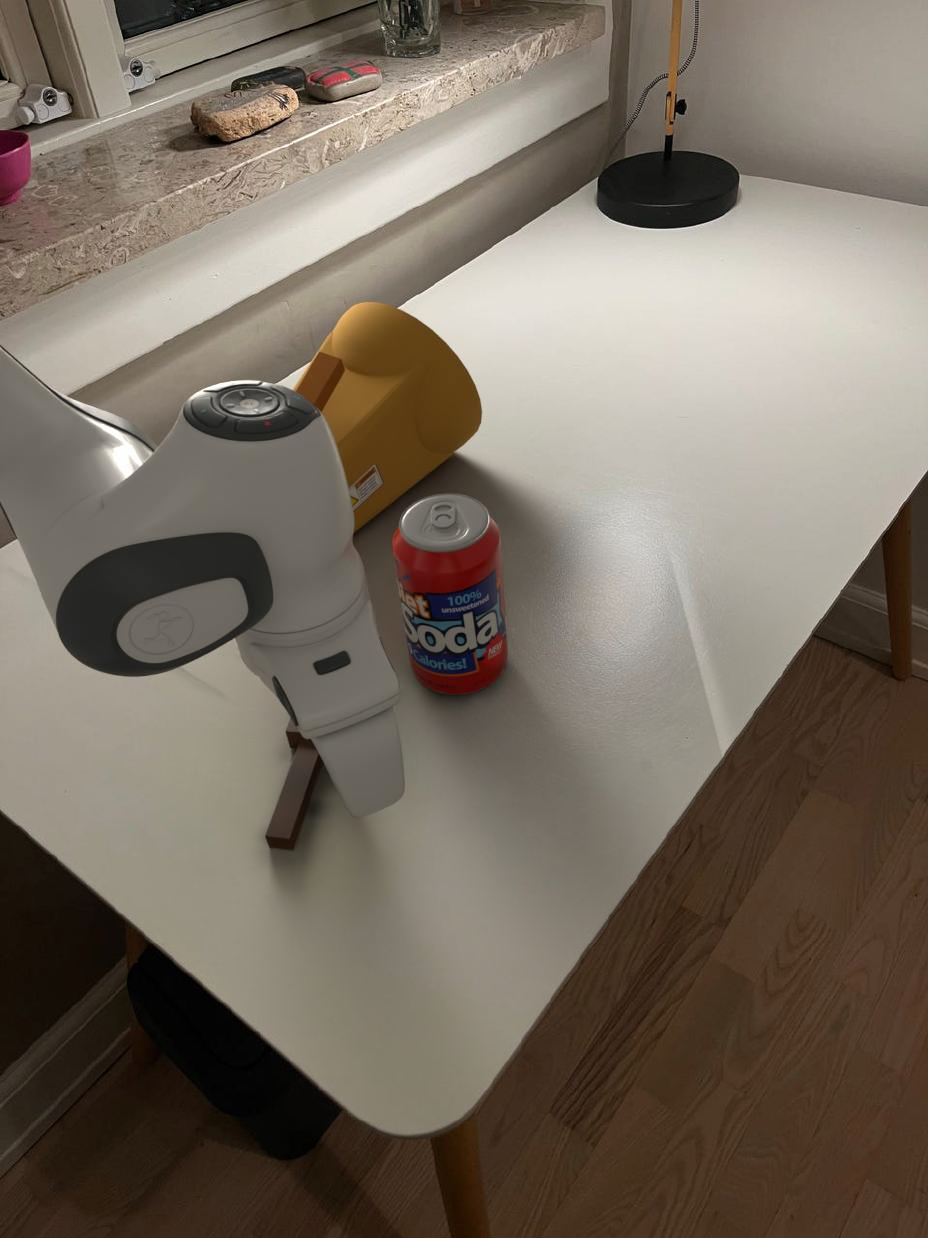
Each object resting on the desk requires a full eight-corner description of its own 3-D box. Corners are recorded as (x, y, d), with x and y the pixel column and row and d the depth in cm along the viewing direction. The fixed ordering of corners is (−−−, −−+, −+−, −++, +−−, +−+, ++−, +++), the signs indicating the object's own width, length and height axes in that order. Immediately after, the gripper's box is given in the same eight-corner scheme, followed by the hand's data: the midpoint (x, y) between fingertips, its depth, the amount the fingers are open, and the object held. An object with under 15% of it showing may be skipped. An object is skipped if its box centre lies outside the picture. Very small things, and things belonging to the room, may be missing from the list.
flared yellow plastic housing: (369, 413, 111) (317, 278, 97) (497, 460, 103) (460, 320, 89) (251, 545, 104) (175, 418, 90) (379, 606, 96) (318, 478, 82)
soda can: (505, 629, 86) (497, 482, 76) (510, 699, 80) (502, 550, 70) (412, 635, 86) (390, 490, 76) (410, 705, 80) (387, 558, 70)
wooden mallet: (308, 852, 71) (303, 835, 70) (253, 846, 72) (247, 829, 70) (354, 709, 80) (351, 692, 79) (306, 705, 81) (301, 688, 80)
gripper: (210, 545, 72) (253, 680, 81) (309, 744, 58) (347, 879, 67) (295, 516, 73) (327, 652, 83) (411, 702, 60) (433, 839, 69)
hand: (337, 755), depth 75 cm, fingers closed
